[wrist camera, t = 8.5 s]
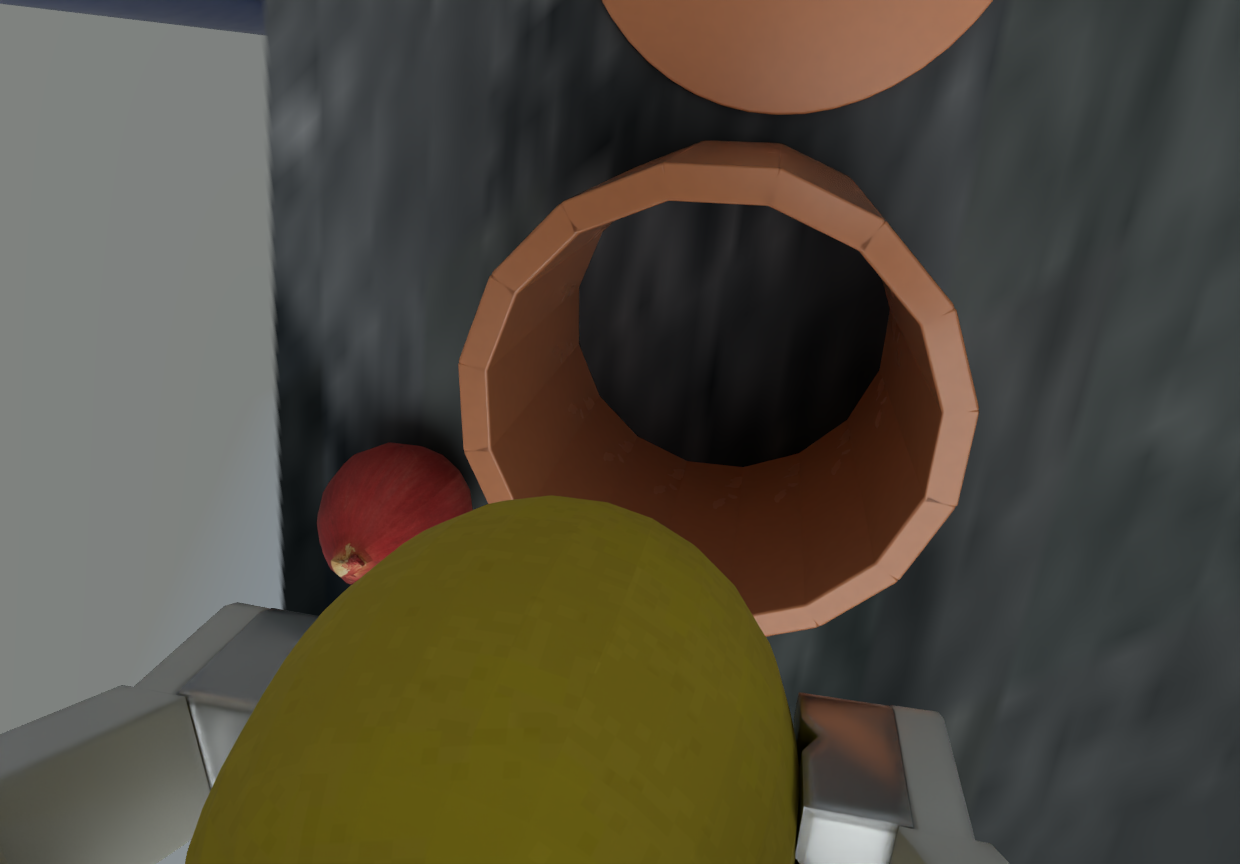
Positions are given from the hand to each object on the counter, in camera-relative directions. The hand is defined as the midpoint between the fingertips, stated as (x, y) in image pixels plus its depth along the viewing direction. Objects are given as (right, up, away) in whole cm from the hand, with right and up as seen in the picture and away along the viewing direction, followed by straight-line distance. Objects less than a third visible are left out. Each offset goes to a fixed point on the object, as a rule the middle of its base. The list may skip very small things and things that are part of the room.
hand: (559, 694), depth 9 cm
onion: (-7, +1, +25) cm, 26 cm away
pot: (+5, +7, +19) cm, 21 cm away
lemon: (+1, +1, +3) cm, 3 cm away
